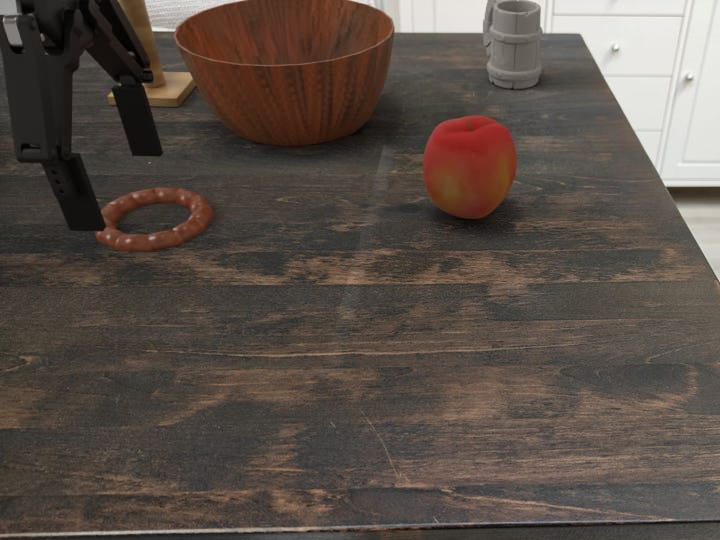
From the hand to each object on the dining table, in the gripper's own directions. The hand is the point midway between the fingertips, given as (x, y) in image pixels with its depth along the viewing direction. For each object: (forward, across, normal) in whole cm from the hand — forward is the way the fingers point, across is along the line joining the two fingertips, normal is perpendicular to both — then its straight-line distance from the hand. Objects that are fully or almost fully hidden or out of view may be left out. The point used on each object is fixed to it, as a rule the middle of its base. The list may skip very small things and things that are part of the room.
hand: (120, 189), depth 66 cm
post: (+7, +39, +12) cm, 41 cm away
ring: (+6, +5, 0) cm, 7 cm away
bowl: (+7, +31, -9) cm, 33 cm away
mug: (+7, +49, -35) cm, 60 cm away
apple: (+7, +10, -31) cm, 33 cm away
